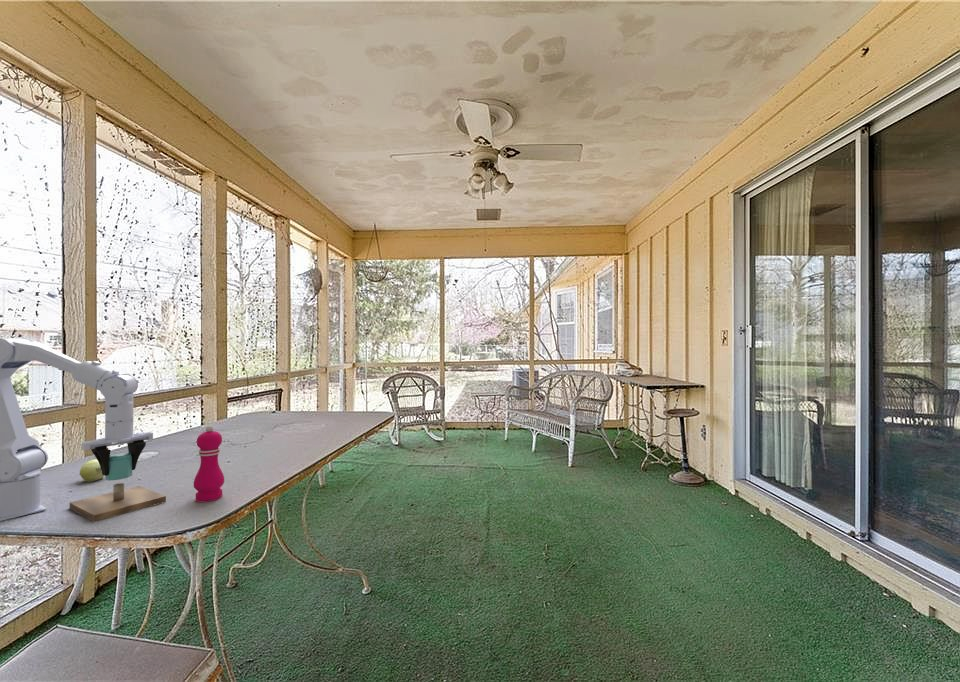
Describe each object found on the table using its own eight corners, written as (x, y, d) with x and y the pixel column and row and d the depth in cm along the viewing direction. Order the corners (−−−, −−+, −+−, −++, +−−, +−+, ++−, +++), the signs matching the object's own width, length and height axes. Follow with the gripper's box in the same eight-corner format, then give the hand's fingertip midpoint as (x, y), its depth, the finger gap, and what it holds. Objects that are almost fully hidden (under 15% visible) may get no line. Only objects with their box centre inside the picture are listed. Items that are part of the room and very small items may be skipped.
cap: (111, 481, 109) (111, 458, 109) (103, 478, 111) (103, 456, 112) (134, 476, 113) (134, 454, 113) (126, 473, 116) (126, 452, 116)
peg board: (94, 521, 102) (94, 498, 102) (69, 508, 110) (69, 487, 110) (165, 501, 115) (166, 481, 115) (139, 491, 123) (139, 472, 123)
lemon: (92, 461, 130) (112, 455, 137) (71, 464, 130) (91, 458, 137) (95, 482, 130) (114, 475, 137) (74, 485, 130) (94, 478, 137)
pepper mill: (218, 491, 123) (219, 422, 123) (228, 497, 118) (229, 425, 118) (189, 498, 117) (190, 425, 117) (198, 504, 112) (199, 429, 113)
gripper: (89, 426, 104) (89, 482, 104) (158, 417, 117) (158, 467, 117) (78, 423, 108) (78, 477, 108) (146, 415, 120) (146, 463, 120)
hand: (119, 472), depth 112 cm, fingers closed on cap, 5 cm apart
